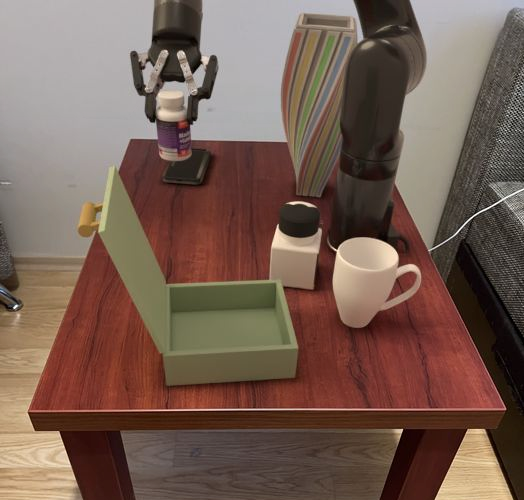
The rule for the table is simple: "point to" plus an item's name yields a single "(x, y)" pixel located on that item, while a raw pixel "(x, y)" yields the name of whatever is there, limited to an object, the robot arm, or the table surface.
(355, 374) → the table surface
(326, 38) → the vase
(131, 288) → the green box lid
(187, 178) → the phone
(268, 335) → the green open box
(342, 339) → the table surface
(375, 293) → the mug
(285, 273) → the medicine bottle
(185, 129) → the pill bottle
